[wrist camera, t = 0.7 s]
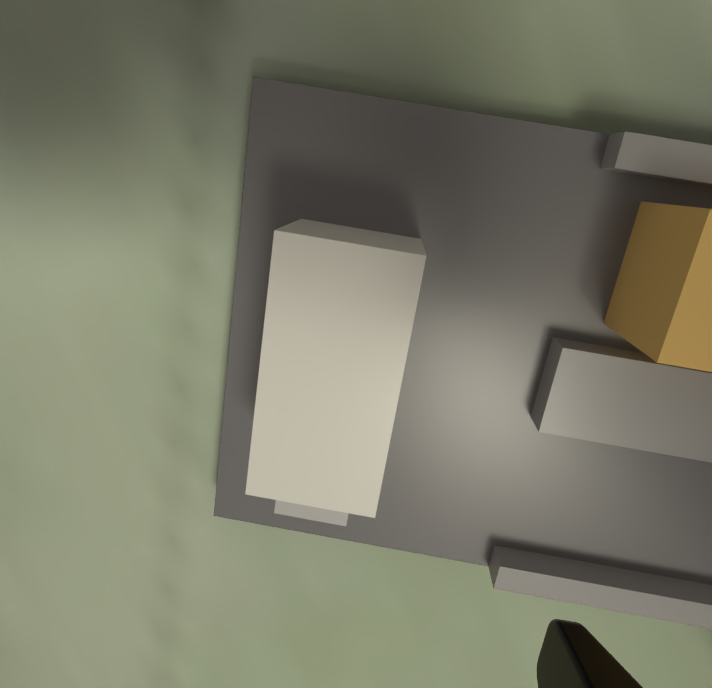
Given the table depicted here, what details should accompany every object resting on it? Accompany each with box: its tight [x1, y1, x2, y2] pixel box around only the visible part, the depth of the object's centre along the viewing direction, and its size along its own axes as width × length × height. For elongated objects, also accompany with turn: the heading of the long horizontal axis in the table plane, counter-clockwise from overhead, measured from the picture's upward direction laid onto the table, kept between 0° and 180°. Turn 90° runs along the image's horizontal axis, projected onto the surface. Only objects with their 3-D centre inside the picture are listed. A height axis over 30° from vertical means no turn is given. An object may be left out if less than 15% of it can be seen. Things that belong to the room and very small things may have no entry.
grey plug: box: [245, 219, 426, 526], centre depth 17 cm, size 4×9×4 cm, turn 171°
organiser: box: [214, 77, 712, 629], centre depth 19 cm, size 23×16×3 cm
